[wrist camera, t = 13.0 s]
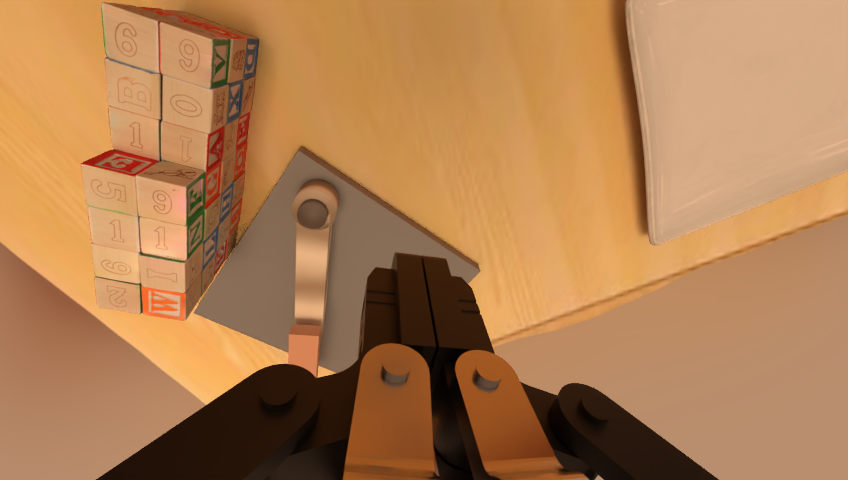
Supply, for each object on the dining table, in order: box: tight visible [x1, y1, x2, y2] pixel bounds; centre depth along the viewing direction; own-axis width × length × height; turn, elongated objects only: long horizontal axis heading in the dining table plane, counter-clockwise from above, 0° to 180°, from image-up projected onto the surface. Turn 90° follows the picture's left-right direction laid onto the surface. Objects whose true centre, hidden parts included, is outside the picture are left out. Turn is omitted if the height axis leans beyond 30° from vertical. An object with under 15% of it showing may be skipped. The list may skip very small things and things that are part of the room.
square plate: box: [625, 0, 848, 245], centre depth 35 cm, size 27×27×4 cm
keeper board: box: [194, 146, 480, 378], centre depth 40 cm, size 24×24×8 cm
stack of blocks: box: [81, 2, 259, 321], centre depth 29 cm, size 21×6×12 cm, turn 161°
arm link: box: [291, 180, 339, 344], centre depth 37 cm, size 19×4×4 cm, turn 169°
